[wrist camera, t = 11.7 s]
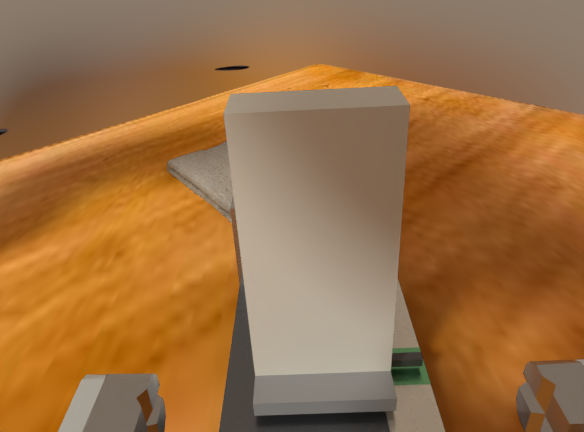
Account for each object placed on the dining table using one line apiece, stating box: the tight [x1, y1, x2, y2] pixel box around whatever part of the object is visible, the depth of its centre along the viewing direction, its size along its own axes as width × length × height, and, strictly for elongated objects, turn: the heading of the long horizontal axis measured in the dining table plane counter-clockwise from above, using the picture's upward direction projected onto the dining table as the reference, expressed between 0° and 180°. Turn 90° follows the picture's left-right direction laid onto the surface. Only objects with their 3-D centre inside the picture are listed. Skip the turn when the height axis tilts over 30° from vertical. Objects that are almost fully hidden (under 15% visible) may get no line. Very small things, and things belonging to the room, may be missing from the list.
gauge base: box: [219, 197, 445, 432], centre depth 31 cm, size 30×12×8 cm, turn 0°
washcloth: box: [167, 142, 233, 222], centre depth 59 cm, size 12×18×3 cm, turn 37°
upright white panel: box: [224, 86, 423, 416], centre depth 27 cm, size 8×10×17 cm
